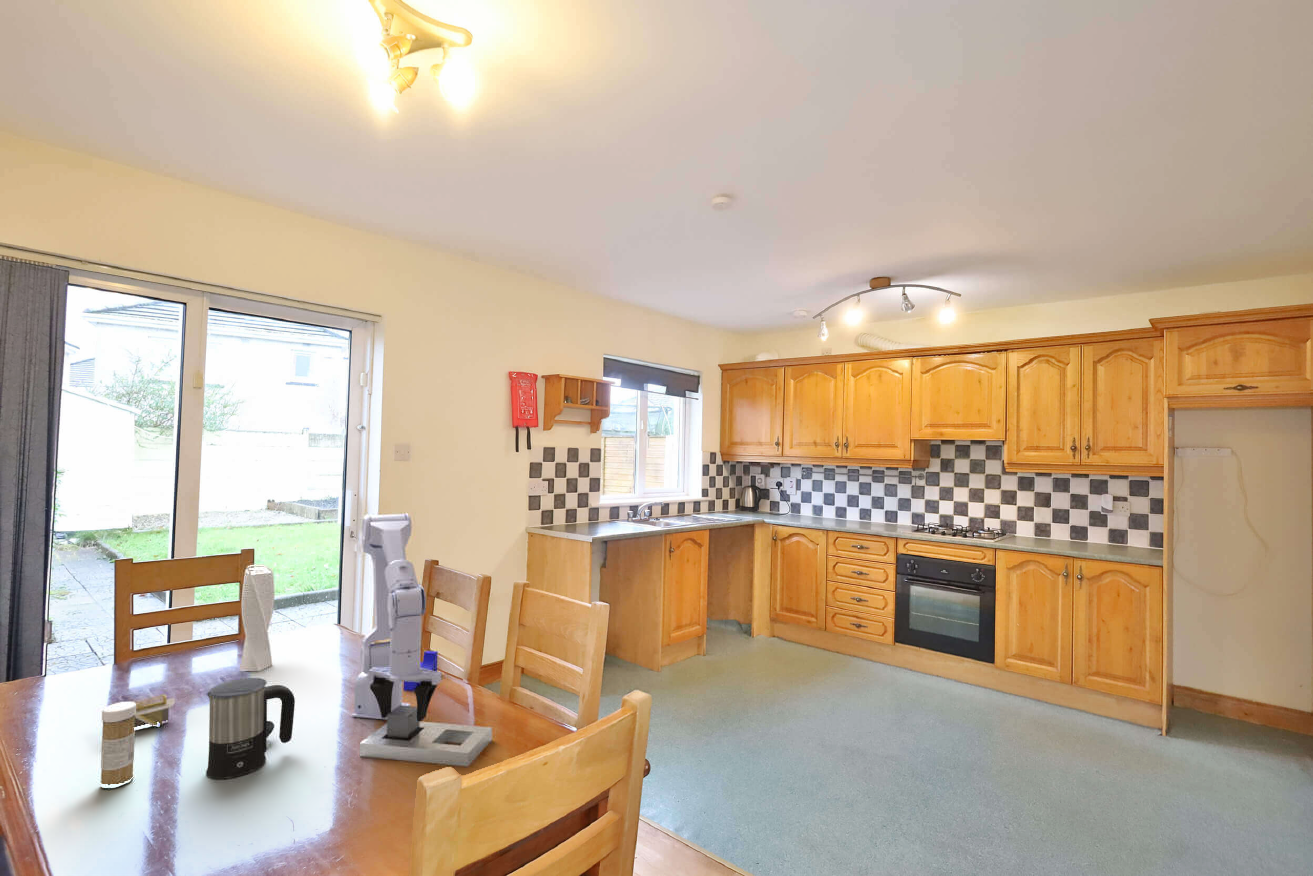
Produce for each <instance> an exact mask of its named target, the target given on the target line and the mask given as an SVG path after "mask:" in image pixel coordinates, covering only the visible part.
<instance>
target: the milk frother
mask: <svg viewBox="0 0 1313 876" xmlns="http://www.w3.org/2000/svg"><path fill="white" fill-rule="evenodd" d="M267 684H268V683H267V680H266V679H264V678H260V677H259V678H257V677H248V678H247V677H246V678H238V679H235V680H234V679H233V680H230V681H226V682H223V683H219V684H217V685H214V686H213V687H211V688H210V689H209V690H208V691H207V693H206V696H207V697H208V699H209V714H208V715H209V723H208V724H209V726H208V728H209V729H208V732H209V733H208V739H209V740H208V758H207V759H208V760H207V761H208V762H207V763H208V764H207V768H206V771H205V774H206V776H207V777H208V776H209V777H208V778H210V779H211V778H212V779H215V778H217V779H216V780H227V779H233V778H237V777H241V776H244V775H248V774H249V773H252V772H254V771H256V770H258V769H259V768H261V767H262V766H263V765H264V764H265V763H266V761H267V757H266V754H265V753H267V744H268V743H267V742H268V741H267V738H268V737H269V736H270V735H271V734H272V732H273V731H274V730H275V729H274V728H275V724H274V722H273V721H270V720H268V719H267V718H268V700H272V699H279V700H280V701H281V706H280V707H281V708H280V709H281V710H280V719H279V720H280V722H279V732H278V733H279V734H278V735H279V736H278V737H279V740H280V742H281V743H283V744H287V743H289V742H290V741H291V740H292V738H293V729H294V728H293V726H294V719H295V718H294V716H295V715H294V714H295V706H296V704H295V703H296V699H295V696H294V694H293V691H292V690H291V689H289V687H287V686H285V685H282V684H281V685H280V684H274V685H273V684H271V685H267ZM266 685H267V686H266Z"/></svg>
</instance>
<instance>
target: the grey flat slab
mask: <svg viewBox="0 0 1313 876" xmlns="http://www.w3.org/2000/svg"><path fill="white" fill-rule="evenodd" d="M492 740H493V727H490V726H489V727H488V726H478V725H468V724H467V725H464V724H455V723H454V724H453V723H442V722H430V721H420V724H419V733H418V734H417V735H416V736H415V737H413V738H412V739H411V740H410V741H404V740H393V739H387V722H386V723H385V724H384V725H383V726H381V727H379V728H378V729H377V730H376V731H373V733H371V734H370V735H368V736H367V737H366V738H365V739H363V740H362V741H361V742H360V743H359V757H364V758H375V759H385V760H394V761H395V760H397V761H405V762H417V763H427V764H435V763H436V764H437V765H447V766H448V765H449V766H458V767H469V766H470V765H471V764H472V763H473V762H474V760H475V759H476V758H477V757H478V756H479V755H480V754H481V753H482V752H483V751H484V750H485V748H486V747H487V746H488V745H489V744H490V743H491V742H492ZM447 743H454V744H447ZM455 744H456V745H455ZM457 744H460V745H457Z"/></svg>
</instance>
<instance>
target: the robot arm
mask: <svg viewBox="0 0 1313 876" xmlns="http://www.w3.org/2000/svg"><path fill="white" fill-rule="evenodd" d="M361 522H362V523H361V545H362V550H363V553H365V554H368V555H370V557H371V562H372V566H373V567H372V571H373V572H372V573H373V576H372V577H373V607H374V609H373V611H374V628H373V629H372V630H370V631H369V632H368V633H367V634H366V635H365V636H364V637H363V638H362V640H361V649H360V669H361V672H360V674H359V675H358V676H357V677H356V681H355V685H354V698H353V699H354V701H353V702H354V704H353V705H354V708H353V713H352V714H351V717H353V718H367V719H376V720H377V719H378V720H387V714H388V713H390V712H391V711H392V710H394V709H395V708H397V707H398V706H399V705H403V706H411V703H407V702H406V703H405V702H403V686H404V681H408V682H421V684H420V685H418V686H417V687H415V688H414V691H413V692H414V693H415V694H414V695H415V698H416V705H417V706H416V707H417V721H421V722H423V720H424V719H426V716H427V712H428V708H429V705H430V703H431V699H432V697H433V695H434V692H435V690H436V689H437V687H438V685H439V684H440V683H441V682H442V672H441V671H438V670H437V671H432V670H428V669H424V668H420V662H421V655H422V654H421V649H422V648H421V645H422V616H425V613H426V608H427V598H426V591H425V589H424V586H422V584H421V583H420V582H418V579H417V575H416V572H415V567H414V564H413V562H411V561H409V560H407V554H406V546H407V544H408V542H409V539H410V538H411V536H412V535H411V534H412V520H411V516H410V515H409V514H408V513H407V512H405V513H402V514H401V513H400V514H399V513H398V514H396V513H395V514H374V515H373V514H372V515H371V514H365V515H364V517H363V518H362V521H361ZM384 640H385V641H384ZM386 640H389V641H386ZM378 641H379V642H378ZM380 641H382V642H380ZM375 642H377V643H375Z"/></svg>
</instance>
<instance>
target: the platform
mask: <svg viewBox="0 0 1313 876" xmlns="http://www.w3.org/2000/svg"><path fill="white" fill-rule="evenodd" d="M133 702H134V703H136V714H135V715H136V716H135V721H134V725H135V727H137V726H141V725H145V724H150V725H152V726H153V725H157V722H159V723H160V725H161V724H162V721H166V720H168V721H169V716H170V715H169V713H170V712H169V710H170V709H169V708H172V707H174V704H175V703H176V699H175V698H173V697H172V698H168V699H167V696H166V694H162V695H160V697H159V695H158V696H152V697H148V698H144V699H140V700H136V701H135V700H134V701H133ZM162 725H163V724H162Z"/></svg>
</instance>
